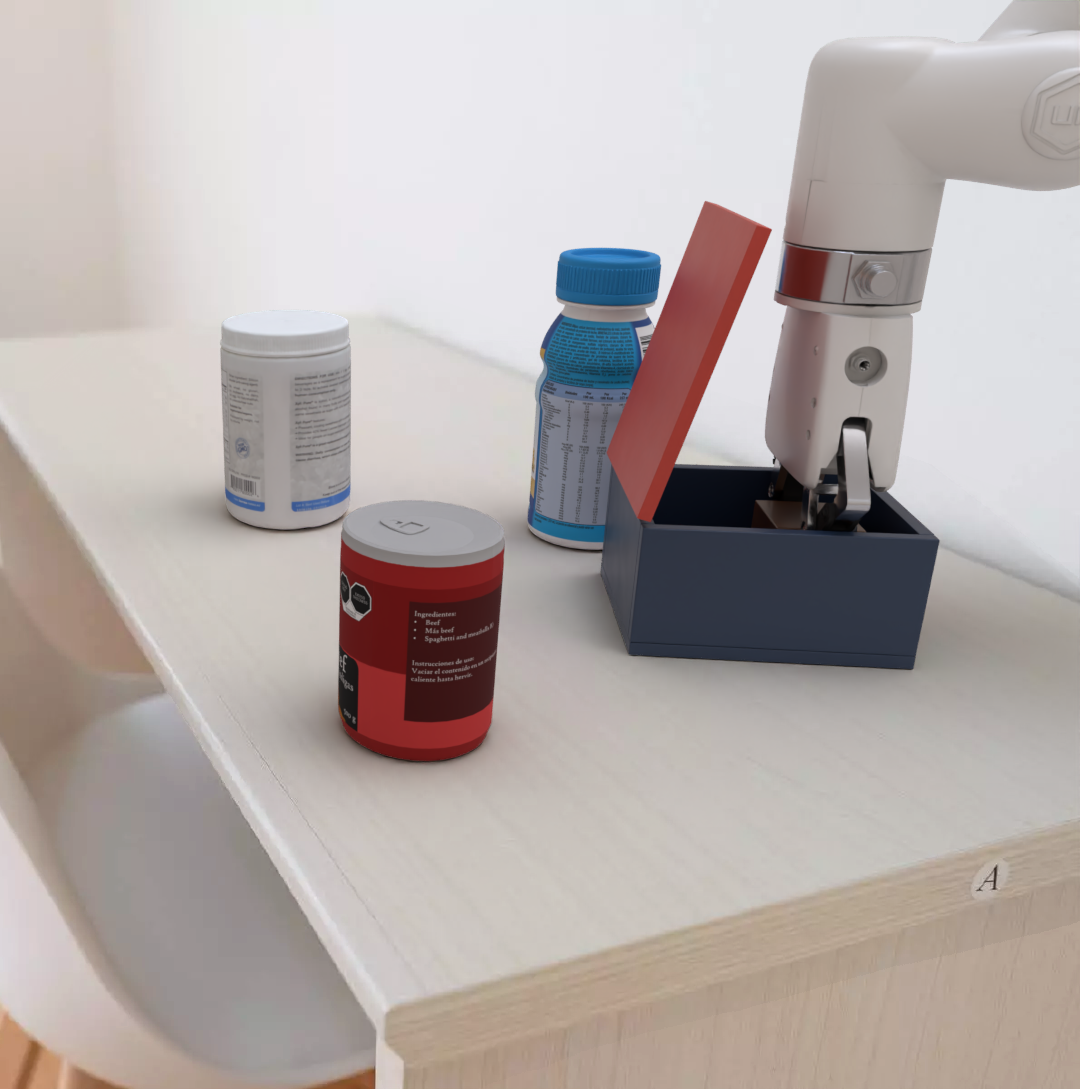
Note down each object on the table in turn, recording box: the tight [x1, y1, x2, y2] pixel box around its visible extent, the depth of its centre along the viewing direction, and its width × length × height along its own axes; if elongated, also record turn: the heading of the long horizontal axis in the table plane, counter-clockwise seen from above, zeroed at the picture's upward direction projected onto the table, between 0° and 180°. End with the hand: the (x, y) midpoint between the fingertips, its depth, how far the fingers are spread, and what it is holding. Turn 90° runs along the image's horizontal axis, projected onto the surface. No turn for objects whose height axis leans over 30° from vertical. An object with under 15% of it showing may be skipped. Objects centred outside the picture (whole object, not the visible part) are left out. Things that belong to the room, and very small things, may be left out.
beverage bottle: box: [526, 247, 662, 551], centre depth 86 cm, size 8×8×20 cm
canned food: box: [337, 499, 506, 762], centre depth 61 cm, size 8×8×11 cm
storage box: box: [599, 463, 941, 670], centre depth 74 cm, size 16×13×8 cm
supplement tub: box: [219, 309, 352, 531], centre depth 91 cm, size 10×10×15 cm
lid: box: [607, 200, 773, 522], centre depth 71 cm, size 16×13×1 cm
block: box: [751, 500, 866, 532], centre depth 74 cm, size 5×5×4 cm
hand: (798, 578), depth 74 cm, fingers closed on block, 5 cm apart
